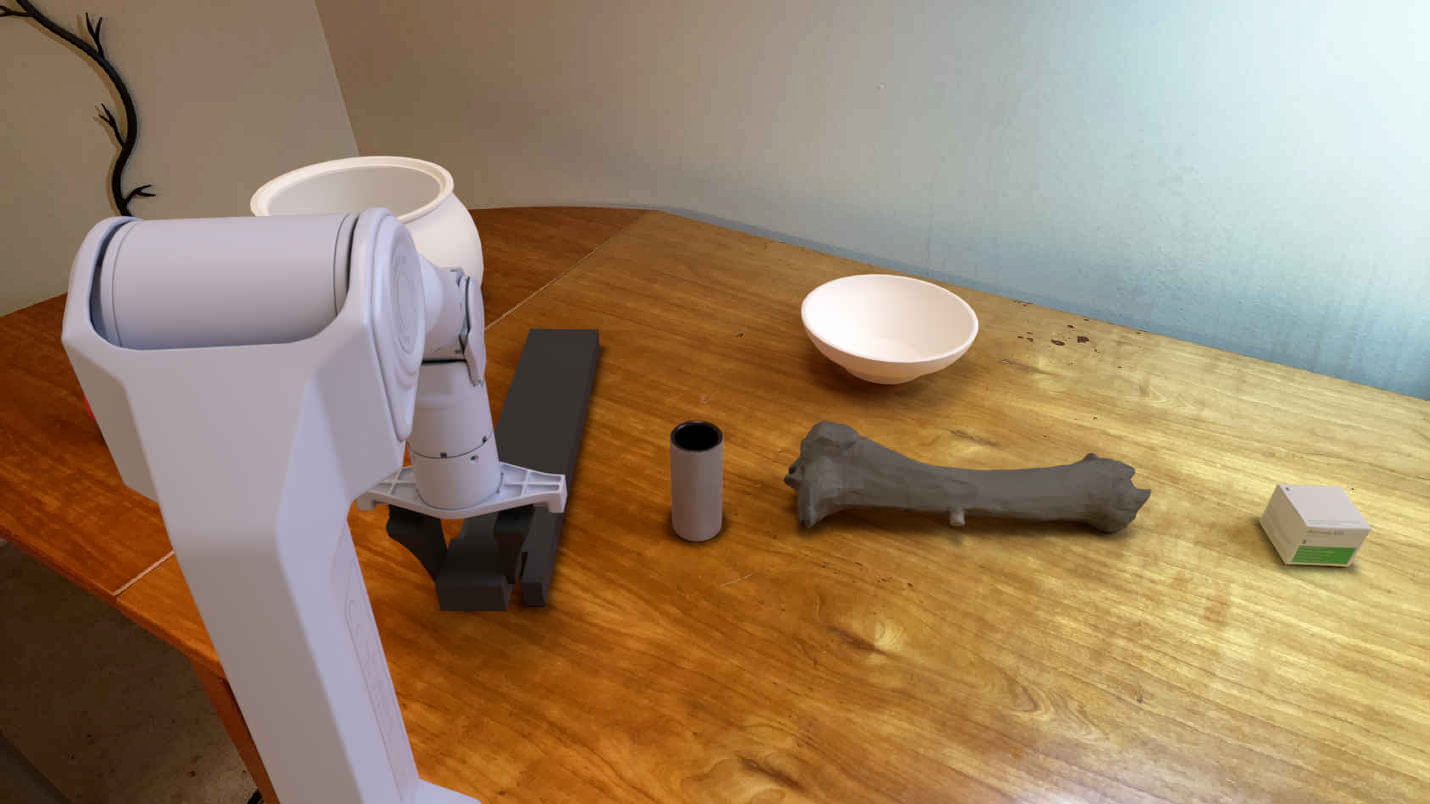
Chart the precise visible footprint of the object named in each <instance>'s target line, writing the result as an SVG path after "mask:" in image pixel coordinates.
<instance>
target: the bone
mask: <svg viewBox="0 0 1430 804" xmlns="http://www.w3.org/2000/svg"><path fill="white" fill-rule="evenodd" d="M799 446H800V447H799V451H800V453H799V456H798V458H796V459H795V460H794V462H792V463H791V464H790V466H789V467H788V469H787V470H788V472H787V474H785V476H784V477H783V479H782V480H783V482H784V484H785V486H788V487H789V488H790V489H792V490H794V491H795V492H796V493H797V500H796V501H797V502H796V507H797V508H796V511H797V520H798V523H799V524H800V525H801V526H802V528H803V529H806V530H810V529H811V528H812V527H813V526H815V525H816V523H818V522H820V521H822V520H823V519H824V518H825V517H829V516H831V515H834V514H836V513H838V512H839V511H842V510H846V509H872V510H882V511H887V510H888V511H898V512H906V513H907V512H908V513H917V514H919V513H920V514H927V515H935V516H940V517H941V516H942V517H946V516H949V524H950V526H953V527H960V526H964V525H966V522H965V518H986V519H1005V520H1006V519H1008V520H1018V521H1023V522H1038V523H1039V522H1040V523H1043V522H1052V521H1053V522H1054V521H1058V522H1059V521H1060V522H1078V523H1085V524H1088V525H1091V526H1092V527H1095V528H1096V529H1097V530H1099V531H1100V532H1101V531H1102V532H1105V533H1109V534H1113V533H1116V532H1119V531H1121V530H1124V529H1125V528H1127V526H1128V525H1129V524H1130V523H1132V522H1133V521H1134V520H1135V519H1136V517H1137V515H1138V514H1137V513H1138V512H1139V511H1140V510H1141V508H1142V507H1143V506H1144V505H1145V504H1146V503H1147V502H1148V500H1149V498H1150V497H1151V494H1152V489H1150V488H1147V489H1146V488H1145V489H1144V488H1138V487H1136V486H1135V485H1134V483H1133V481H1132V478H1133V477H1134V476H1135V474H1136V469H1135V468H1134V466H1131V465H1129V464H1127V463H1124V462H1123V461H1120V460H1115V459H1114V458H1109V457H1099V455H1098V454H1096V453H1094V452H1089V453H1087V454H1086V455H1085V456H1084V457H1083V458H1082V459H1080V460H1078V461H1076V462H1073V463H1069V464H1059V465H1054V466H1046V467H1045V466H1044V467H1029V468H1017V469H974V468H973V469H971V468H964V467H963V468H962V467H953V466H945V465H943V466H942V465H934V464H930V463H929V464H928V463H924V462H921V461H918V460H916V459H913V458H911V457H908V456H907V455H905V454H903V453H900V452H898V451H896V450H894V449H891V448H890V447H889V448H888V447H886V446H884V445H882V444H881V443H878V442H877V441H875V440H872V439H870V438H869V437H868V436H864V435H863V436H862V435H860V434H859V432H858V431H857V430H856V429H854V428H853V427H851V425H848V424H845V423H837V422H832V421H828V420H821V421H819V422H817V423H816V424H813V426H812V427H811V429H809V431H808V432H807V434H806V435H805V437H804V438H802V439H801V440H800V445H799Z"/></svg>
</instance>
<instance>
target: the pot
mask: <svg viewBox="0 0 1430 804" xmlns="http://www.w3.org/2000/svg"><path fill="white" fill-rule="evenodd" d="M454 188H455V185H454V177H452V174H451V173H450V171H448V170H447V169H445V168H444V167H442V166H440V165H439V164H436V163H433V162H432V161H428V160H424V159H419V158H413V157H407V156H394V155H393V156H392V155H374V156H370V155H368V156H355V157H347V158H340V159H331V160H327V161H324V162H318V163H314V164H311V165H306V166H303V167H300V168H297V169H294V170H290V171H288V172H286V173H284V174H281V175H279V176H277V177H275V178H273V179H271V180H269V181H268V182H267V183H265V184H264V185H262V186H261V187H259V188H258V189H257V190H256V192H254V194H253V195H252V197H251V198H250V202H249V206H250V211H251V214H252V215H253V216H277V215H304V214H332V213H362V212H363V211H364V210H365V209H366V208H371V207H384V208H387V209H389V210H390V211H391V212H392V213H393V214H394V215H395V216H396V218H397V219H398V220H399V221H400V222H401V223H402V224H403V225H405V226H406V228H407V229H408V231H409V232H410V234H411V236H412V238H413V241H414V244H415V247H416V250H417V252H418V253H419V254H421V255H423V256H424V257H425V258H426V259H428V260H429V261H430V262H432V263H433V264H435V265H436V266H437V267H439V268H448V267H461V268H462V269H463V271H464V273H465V276H471V275H475V276H476V277H477V279H478V282H479V286H480V287H482V283H483V278H484V269H485V268H484V267H485V266H484V265H485V264H484V257H483V249H482V242H481V238H480V234H479V231H478V229H477V226H476V224H475V222H474V219H473V217H472V215H471V213H470V212H469V211H468V209H467V207H466V206H465V205H464V204H463V203H462V202H461V200H460V199H459V198H458V197H457V196H456V194H455V193H454Z"/></svg>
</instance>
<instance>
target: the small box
mask: <svg viewBox="0 0 1430 804" xmlns="http://www.w3.org/2000/svg"><path fill="white" fill-rule="evenodd" d="M1258 522H1259V524H1260V526H1261V528H1262V529H1263V531H1264V533H1265V535H1266V536H1267V538H1268V540H1269V541H1270V543H1271V544H1272V546H1273V548H1274V549H1275V550H1276V552H1277V554H1278V556H1279V557H1280V559H1281V560H1282V562H1283V564H1284V565H1304V566H1305V565H1307V566H1327V567H1328V566H1331V567H1343V568H1345V567H1346V568H1348V567H1350V566H1351V565H1352V563H1353V561H1354V559H1355V558H1356V556H1357V554H1358V552H1359V551H1360V549H1361V548H1362V547H1363V544H1364V542H1365V541H1366V539H1367V537H1368V536H1369V534H1370V532H1371V531H1372V526H1371V525H1370V524H1369V522H1368V521H1367V519H1366V518H1365V517H1364V516H1363V514H1362V513H1361V511H1359V509H1358V508H1357V506H1355V504H1354V503H1353V501H1352V500H1351V498H1350V497H1349V496H1348V495H1347V493H1346V491H1344V489H1343V488H1342V486H1340V485H1339V486H1338V485H1334V486H1333V485H1313V484H1287V483H1286V484H1284V483H1277V484H1276V486H1275V488H1274V490H1273V492H1272V494H1271V496H1270V498H1269V500H1268V503H1267V504H1266V507H1265V509H1264V511H1263V513H1262V515H1261V517H1260V519H1259V521H1258Z"/></svg>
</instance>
